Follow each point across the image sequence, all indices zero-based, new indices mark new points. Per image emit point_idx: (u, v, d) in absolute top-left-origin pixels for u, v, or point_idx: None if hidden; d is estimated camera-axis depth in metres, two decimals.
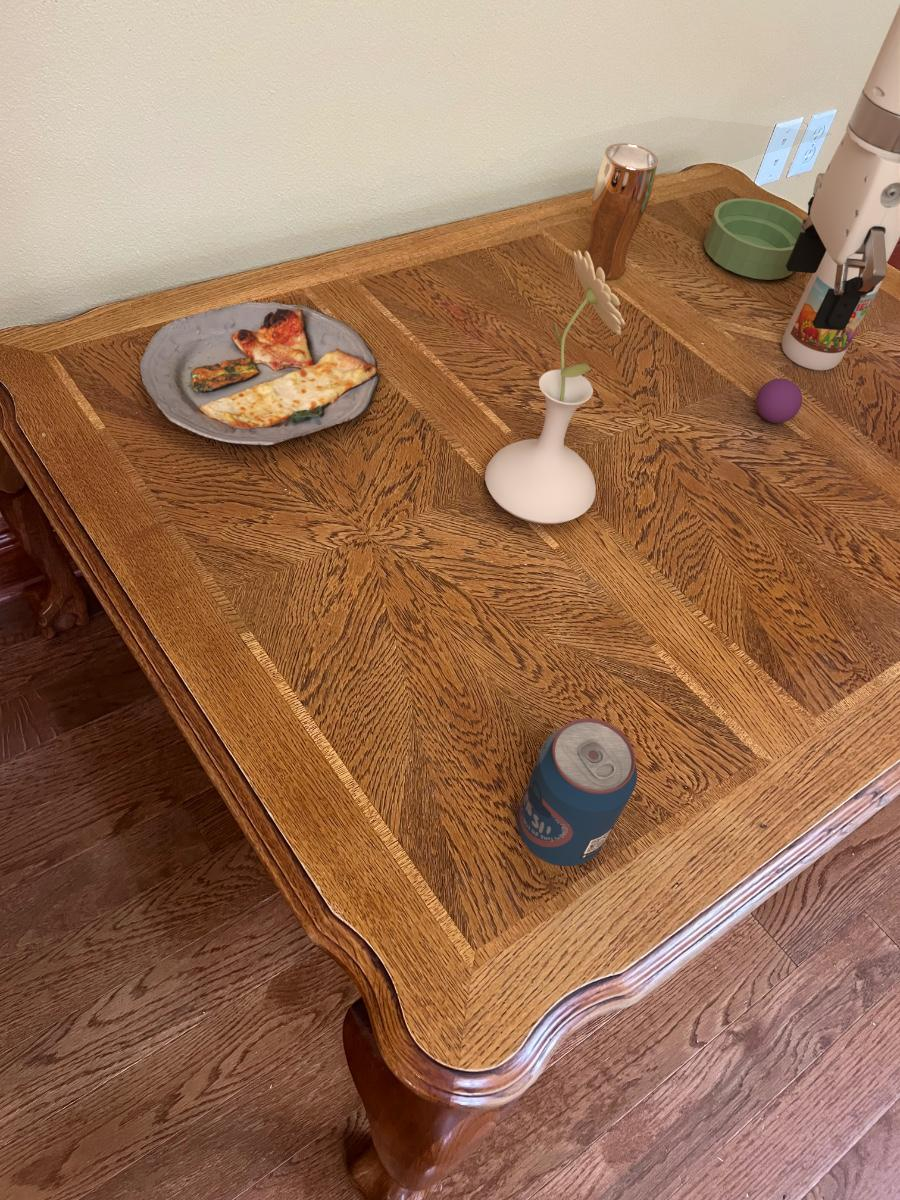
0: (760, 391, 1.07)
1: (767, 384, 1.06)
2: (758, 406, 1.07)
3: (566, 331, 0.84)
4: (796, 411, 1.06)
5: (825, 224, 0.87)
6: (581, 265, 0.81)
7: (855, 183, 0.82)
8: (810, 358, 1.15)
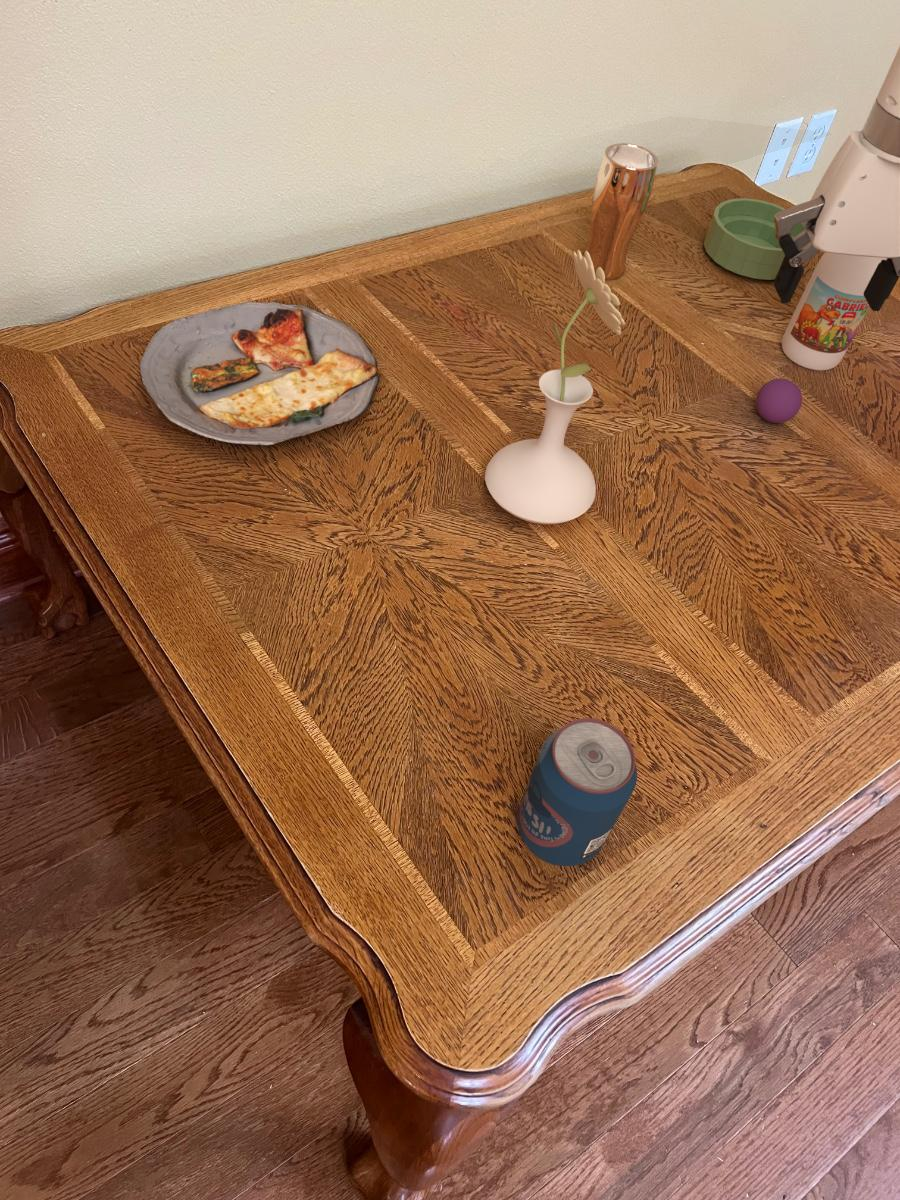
0: (760, 391, 1.07)
1: (767, 384, 1.06)
2: (758, 406, 1.07)
3: (566, 331, 0.84)
4: (796, 411, 1.06)
5: (869, 242, 0.89)
6: (581, 265, 0.81)
7: None
8: (810, 358, 1.15)
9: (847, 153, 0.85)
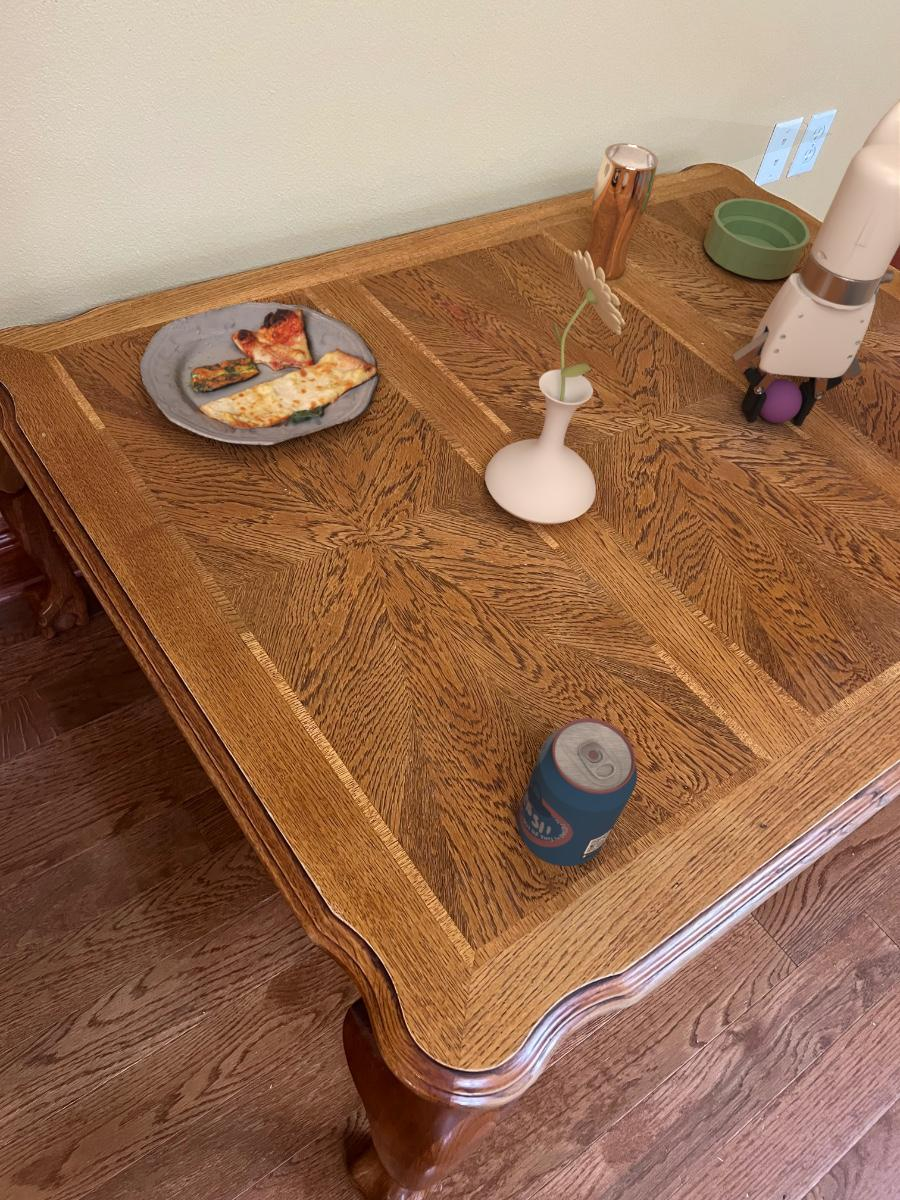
0: None
1: None
2: None
3: (566, 331, 0.84)
4: (796, 411, 1.06)
5: (808, 366, 1.01)
6: (581, 265, 0.81)
7: (848, 328, 0.97)
8: None
9: (786, 294, 0.96)
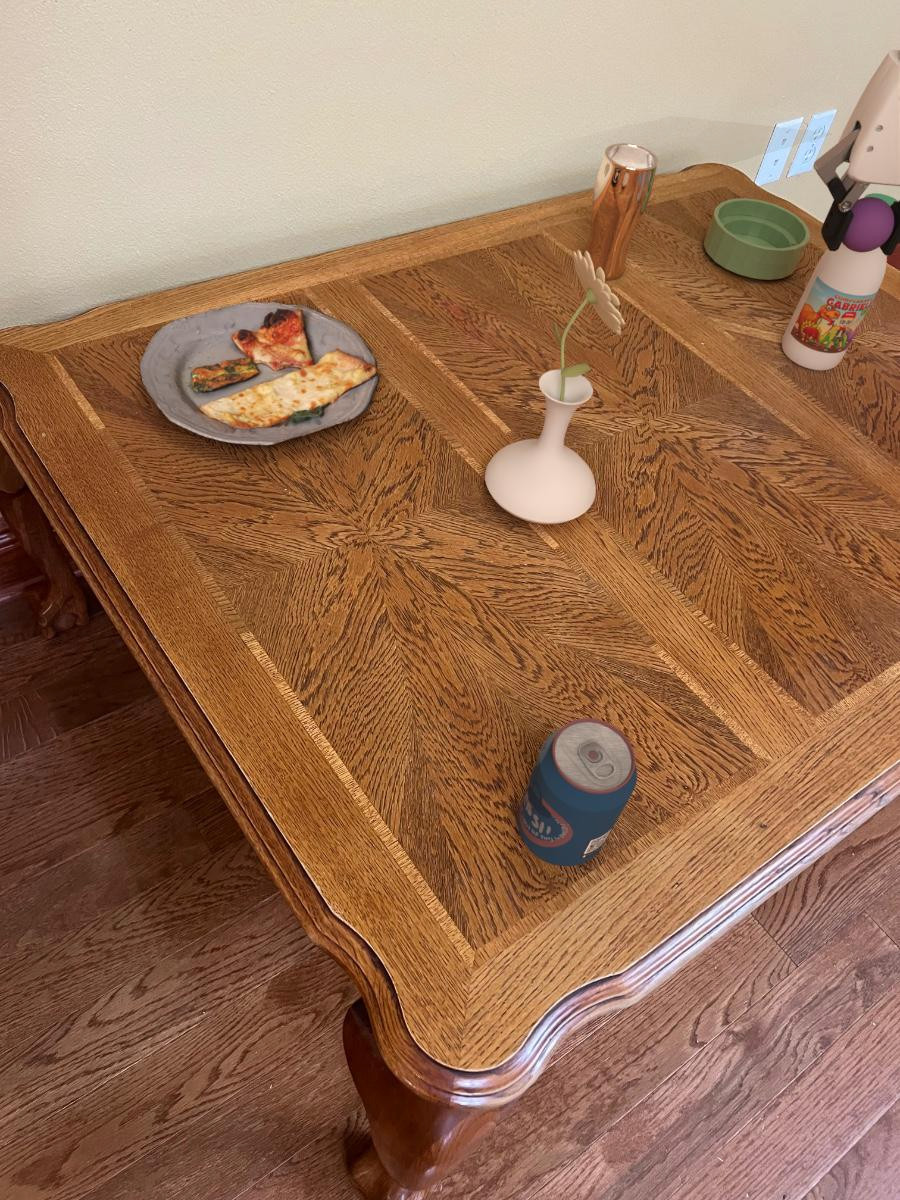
0: None
1: None
2: None
3: (566, 331, 0.84)
4: (887, 234, 0.90)
5: None
6: (581, 265, 0.81)
7: None
8: (810, 358, 1.15)
9: (885, 73, 0.80)
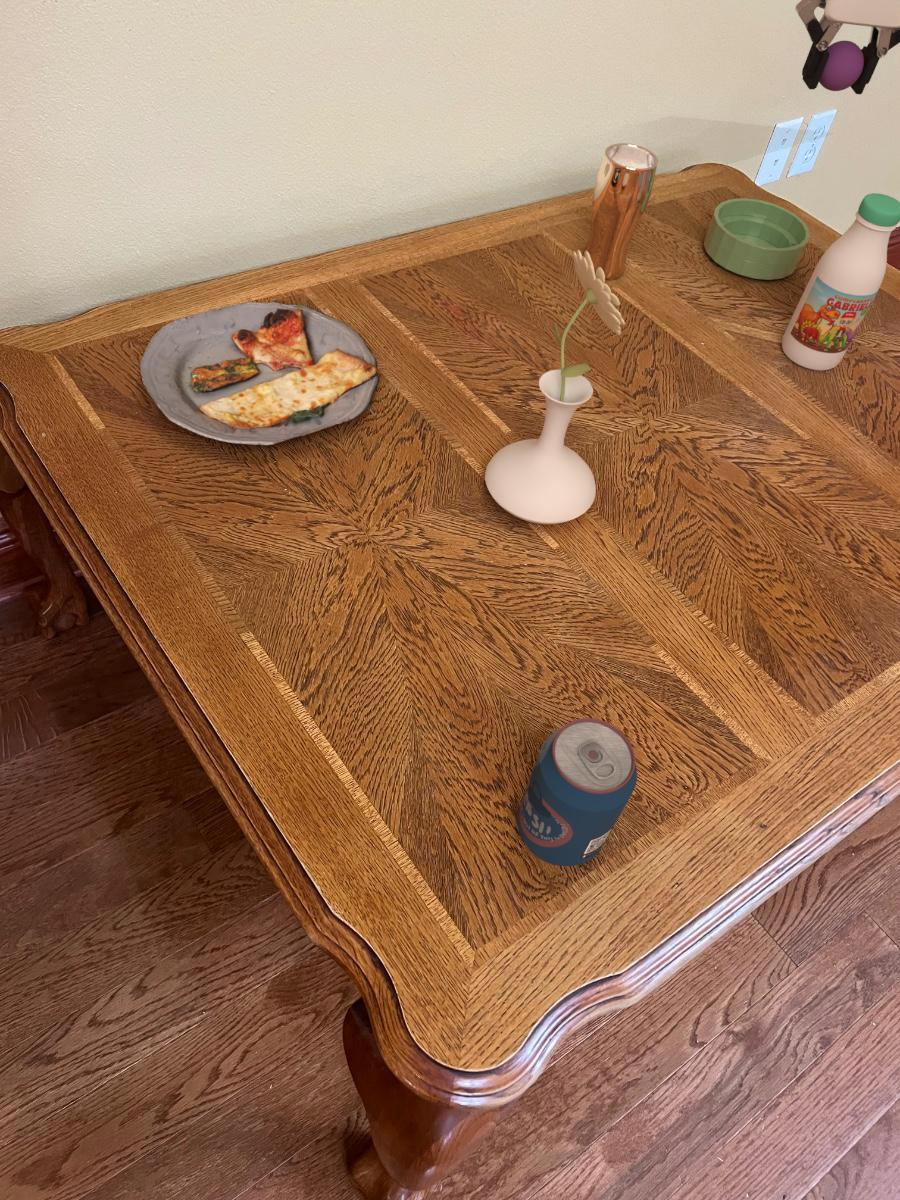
0: None
1: None
2: None
3: (566, 331, 0.84)
4: (858, 72, 1.05)
5: (874, 9, 1.00)
6: (581, 265, 0.81)
7: None
8: (810, 358, 1.15)
9: None
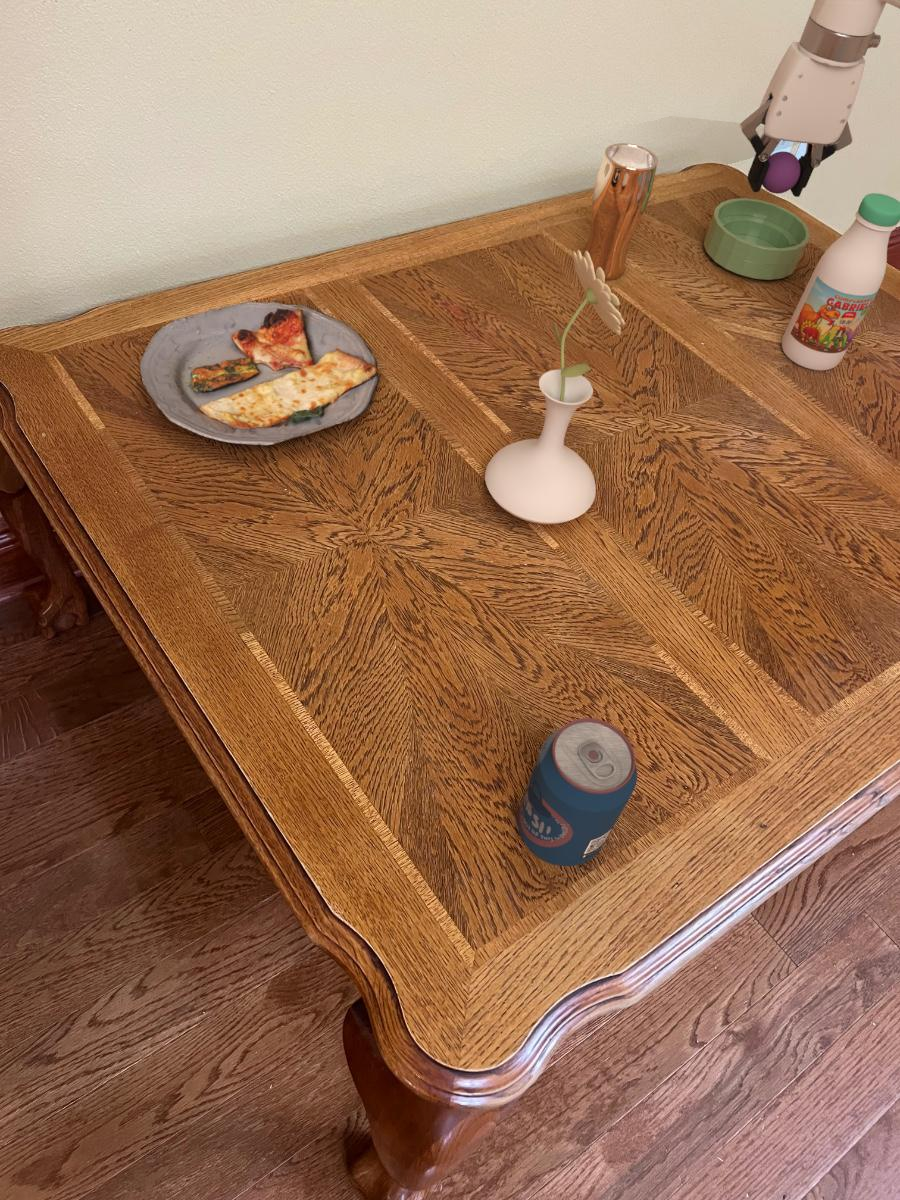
0: None
1: (770, 156, 1.22)
2: None
3: (566, 331, 0.84)
4: (795, 179, 1.21)
5: (806, 130, 1.16)
6: (581, 265, 0.81)
7: (841, 90, 1.12)
8: (810, 358, 1.15)
9: (788, 58, 1.12)
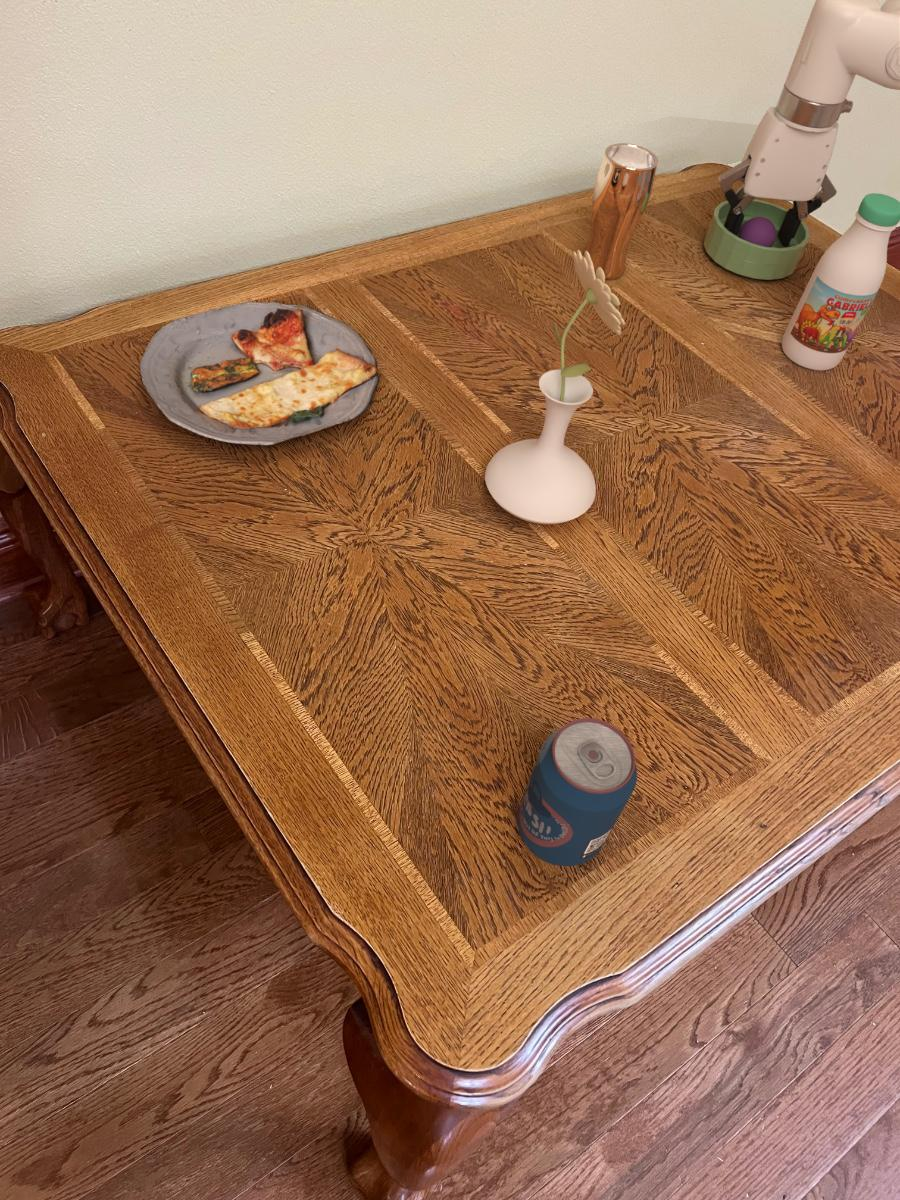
0: (741, 227, 1.29)
1: (747, 221, 1.28)
2: None
3: (566, 331, 0.84)
4: (771, 243, 1.28)
5: (784, 189, 1.22)
6: (581, 265, 0.81)
7: (816, 152, 1.18)
8: (810, 358, 1.15)
9: (765, 123, 1.17)
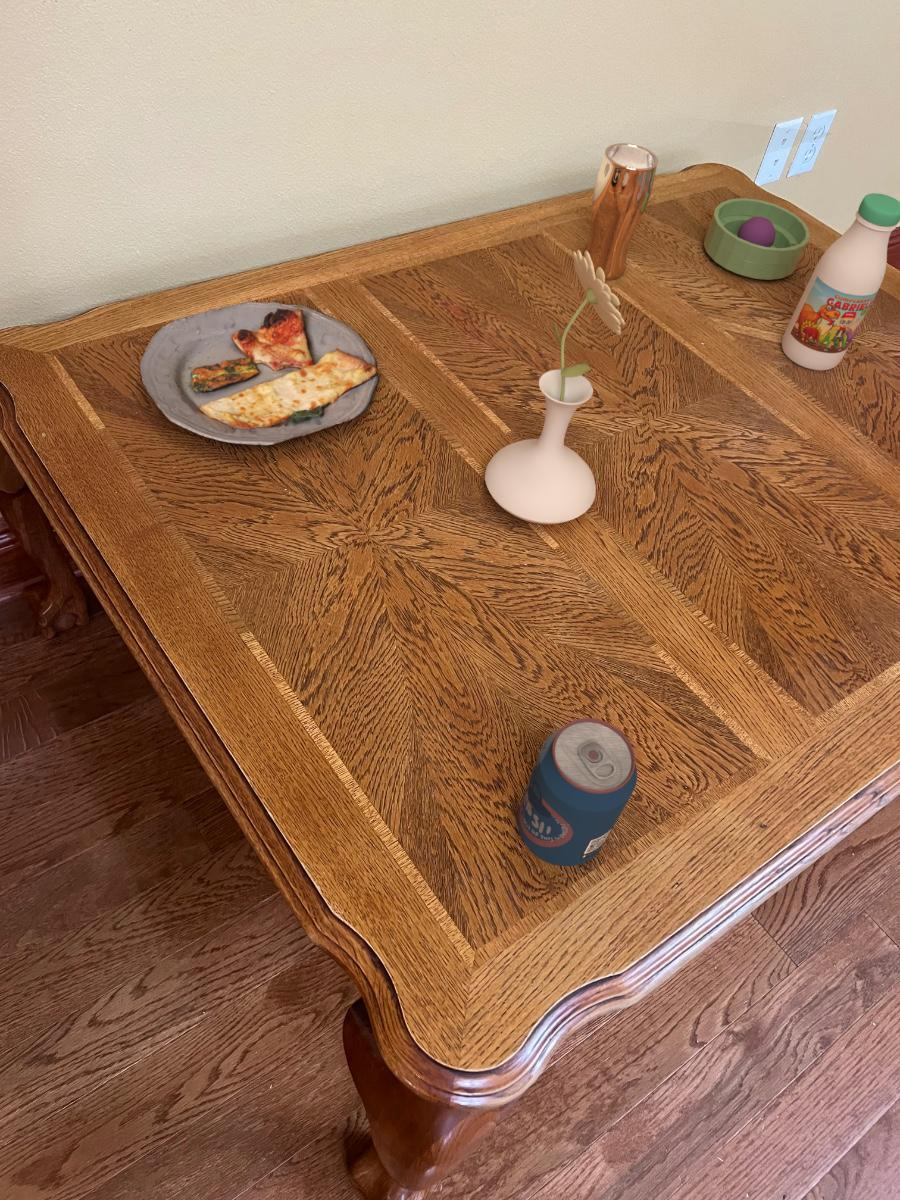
0: (740, 228, 1.29)
1: (745, 221, 1.28)
2: None
3: (566, 331, 0.84)
4: (770, 242, 1.28)
5: None
6: (581, 265, 0.81)
7: None
8: (810, 358, 1.15)
9: None
